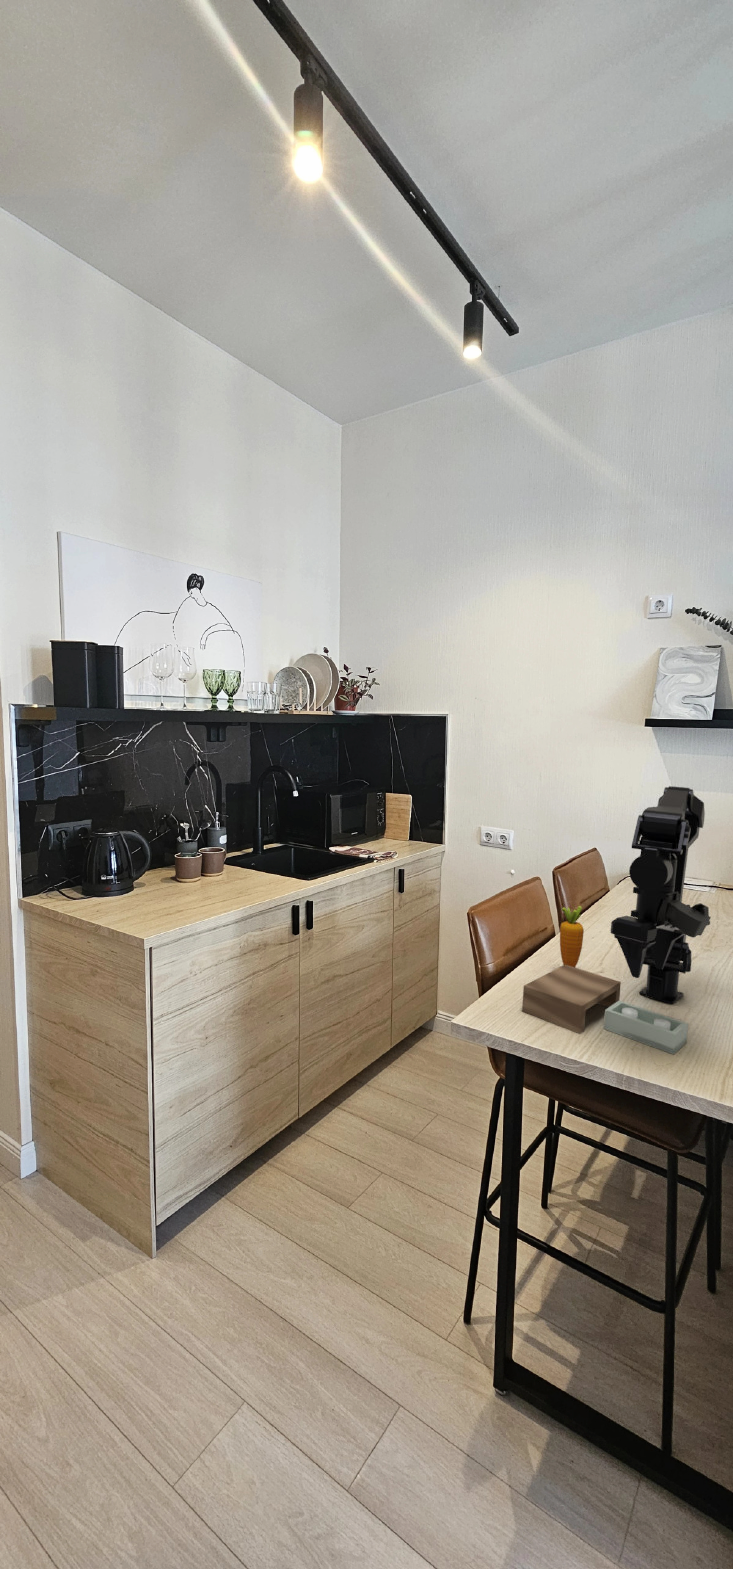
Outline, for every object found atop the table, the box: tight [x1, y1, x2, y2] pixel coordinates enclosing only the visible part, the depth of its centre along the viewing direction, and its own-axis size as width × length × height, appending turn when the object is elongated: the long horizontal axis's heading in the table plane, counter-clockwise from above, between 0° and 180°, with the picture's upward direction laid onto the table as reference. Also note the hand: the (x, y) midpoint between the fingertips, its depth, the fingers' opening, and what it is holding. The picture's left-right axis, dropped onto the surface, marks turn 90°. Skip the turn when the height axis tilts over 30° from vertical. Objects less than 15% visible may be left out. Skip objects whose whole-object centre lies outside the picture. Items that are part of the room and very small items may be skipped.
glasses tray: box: [603, 999, 689, 1055], centre depth 115 cm, size 6×12×4 cm, turn 46°
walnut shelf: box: [521, 964, 622, 1034], centre depth 125 cm, size 16×12×5 cm
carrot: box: [559, 905, 585, 968], centre depth 141 cm, size 5×5×15 cm
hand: (647, 973), depth 114 cm, fingers open, 9 cm apart
